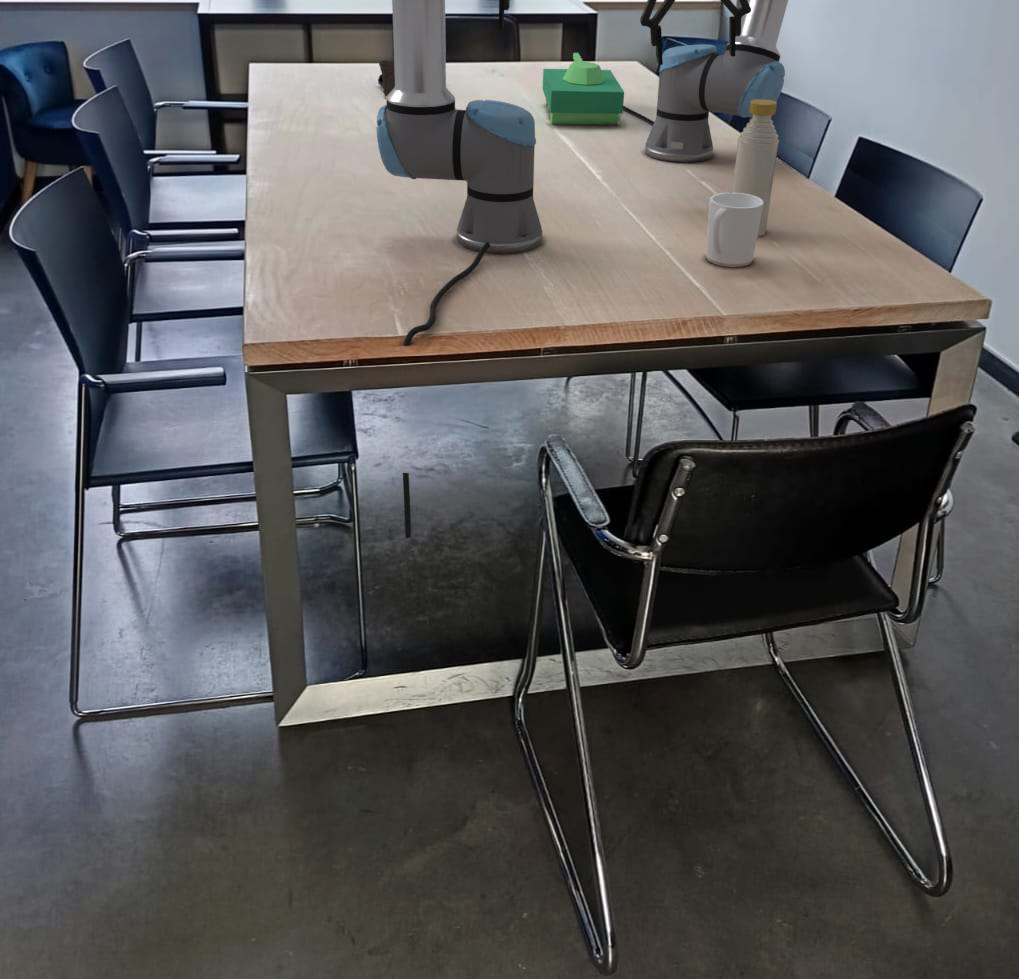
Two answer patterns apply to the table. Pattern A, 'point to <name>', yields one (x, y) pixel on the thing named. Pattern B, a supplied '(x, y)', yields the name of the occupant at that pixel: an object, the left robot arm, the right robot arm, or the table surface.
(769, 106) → the cap
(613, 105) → the toy tank
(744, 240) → the mug
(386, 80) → the axe head
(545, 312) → the table surface
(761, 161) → the bottle
